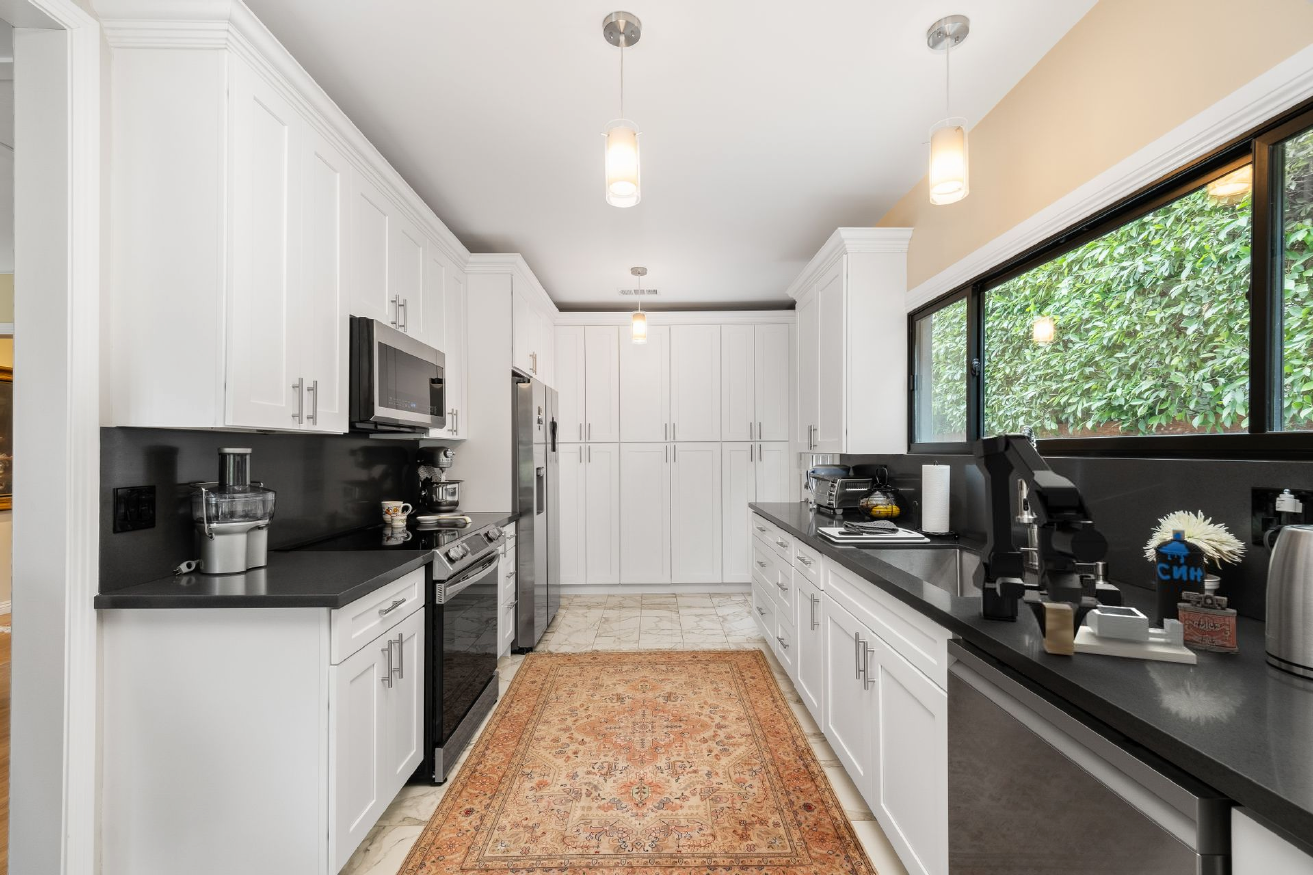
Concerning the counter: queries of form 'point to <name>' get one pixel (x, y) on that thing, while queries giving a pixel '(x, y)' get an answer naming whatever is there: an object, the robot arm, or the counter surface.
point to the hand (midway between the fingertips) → (1057, 638)
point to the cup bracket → (1132, 625)
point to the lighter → (1208, 623)
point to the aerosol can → (1177, 574)
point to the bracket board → (1131, 647)
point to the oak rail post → (1058, 628)
